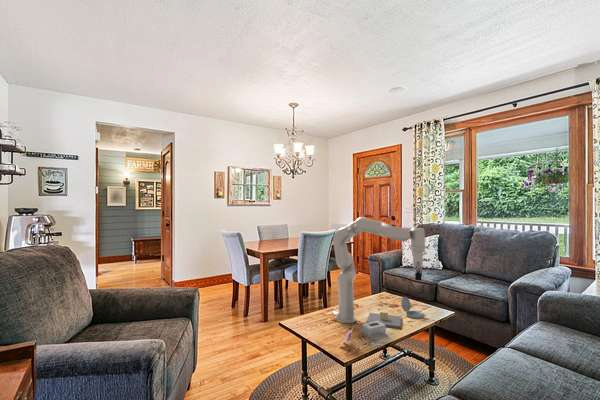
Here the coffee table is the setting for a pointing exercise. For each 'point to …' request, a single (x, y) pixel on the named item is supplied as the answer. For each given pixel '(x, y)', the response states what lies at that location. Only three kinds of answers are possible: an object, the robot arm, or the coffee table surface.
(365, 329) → the slotted block
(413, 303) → the coffee table surface
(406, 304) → the pocket watch
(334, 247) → the robot arm
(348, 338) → the lily
